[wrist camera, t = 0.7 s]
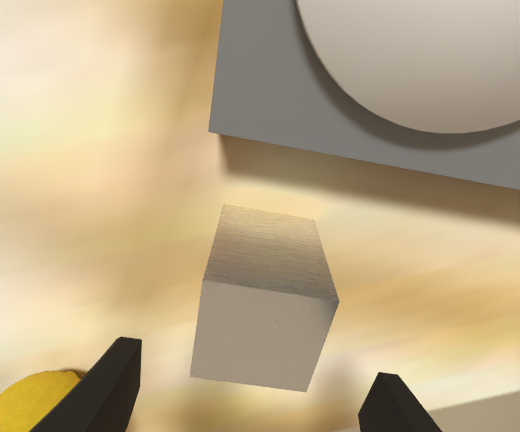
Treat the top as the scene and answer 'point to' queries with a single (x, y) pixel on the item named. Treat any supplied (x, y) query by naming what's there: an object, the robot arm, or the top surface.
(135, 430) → the top surface
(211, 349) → the block
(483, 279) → the top surface
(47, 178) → the top surface
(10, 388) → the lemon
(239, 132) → the scale
